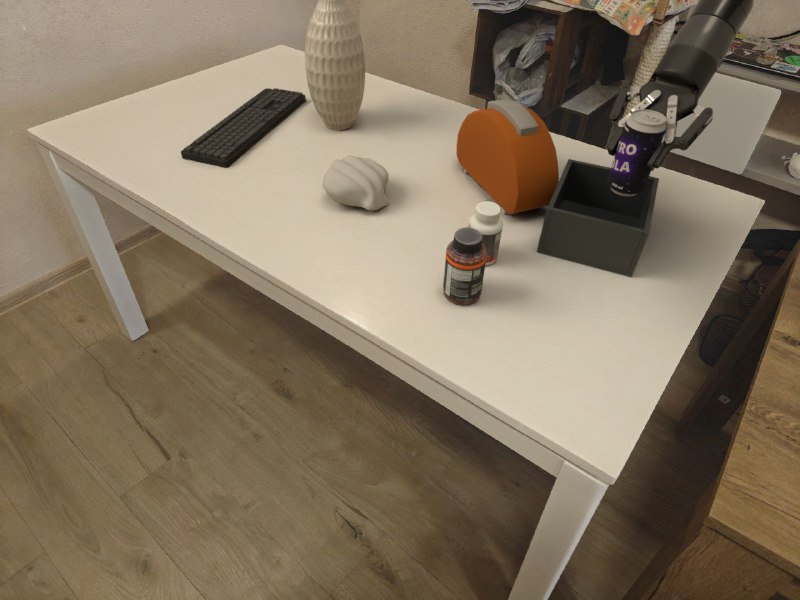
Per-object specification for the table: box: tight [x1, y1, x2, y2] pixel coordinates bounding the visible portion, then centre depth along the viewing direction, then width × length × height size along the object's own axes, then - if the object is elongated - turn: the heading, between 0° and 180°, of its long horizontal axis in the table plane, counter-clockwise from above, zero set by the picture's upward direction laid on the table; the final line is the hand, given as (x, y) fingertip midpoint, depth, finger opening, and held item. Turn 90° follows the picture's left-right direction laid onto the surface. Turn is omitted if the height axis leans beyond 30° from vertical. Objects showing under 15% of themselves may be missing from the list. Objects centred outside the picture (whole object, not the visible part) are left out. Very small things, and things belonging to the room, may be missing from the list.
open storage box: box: [536, 158, 660, 278], centre depth 93 cm, size 16×18×9 cm
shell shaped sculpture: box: [322, 154, 390, 212], centre depth 102 cm, size 13×13×6 cm
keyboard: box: [180, 87, 307, 169], centre depth 124 cm, size 35×11×2 cm, turn 160°
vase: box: [304, 0, 366, 131], centre depth 117 cm, size 13×13×28 cm
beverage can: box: [607, 109, 667, 196], centre depth 82 cm, size 6×6×12 cm
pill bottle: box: [468, 200, 504, 267], centre depth 88 cm, size 5×5×10 cm
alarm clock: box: [456, 98, 560, 215], centre depth 101 cm, size 23×9×17 cm, turn 22°
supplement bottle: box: [442, 227, 487, 306], centre depth 81 cm, size 6×6×11 cm
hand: (630, 160), depth 81 cm, fingers closed on beverage can, 5 cm apart
